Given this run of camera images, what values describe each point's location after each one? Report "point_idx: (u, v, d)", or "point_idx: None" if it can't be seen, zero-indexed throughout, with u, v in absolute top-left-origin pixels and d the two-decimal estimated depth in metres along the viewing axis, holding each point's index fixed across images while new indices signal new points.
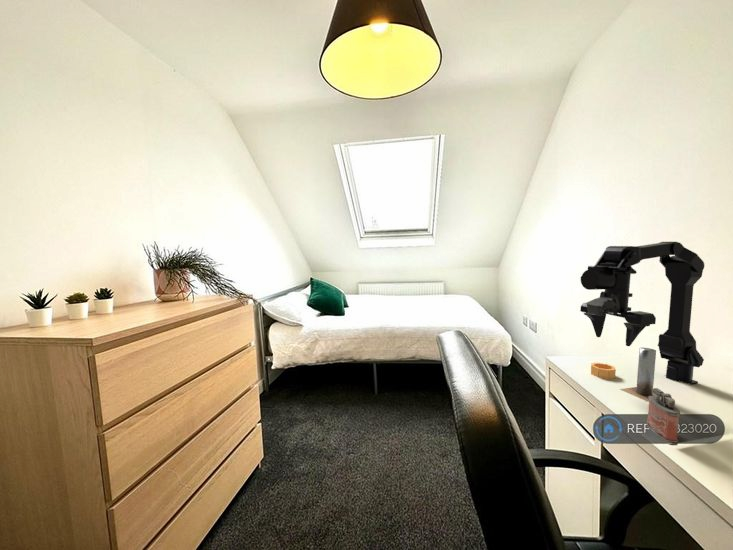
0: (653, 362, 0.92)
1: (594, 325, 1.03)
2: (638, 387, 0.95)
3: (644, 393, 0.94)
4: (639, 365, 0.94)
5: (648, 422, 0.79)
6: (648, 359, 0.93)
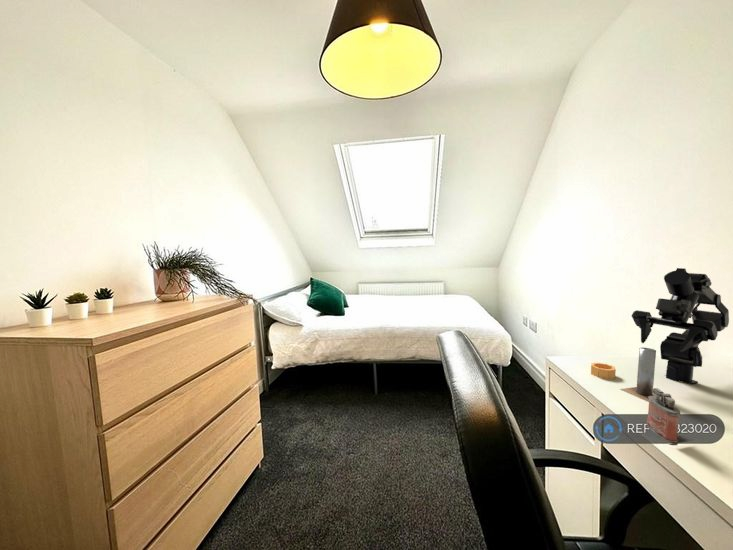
0: (653, 362, 0.92)
1: (643, 330, 1.03)
2: (638, 387, 0.95)
3: (644, 393, 0.94)
4: (639, 365, 0.95)
5: (648, 422, 0.79)
6: (648, 359, 0.93)
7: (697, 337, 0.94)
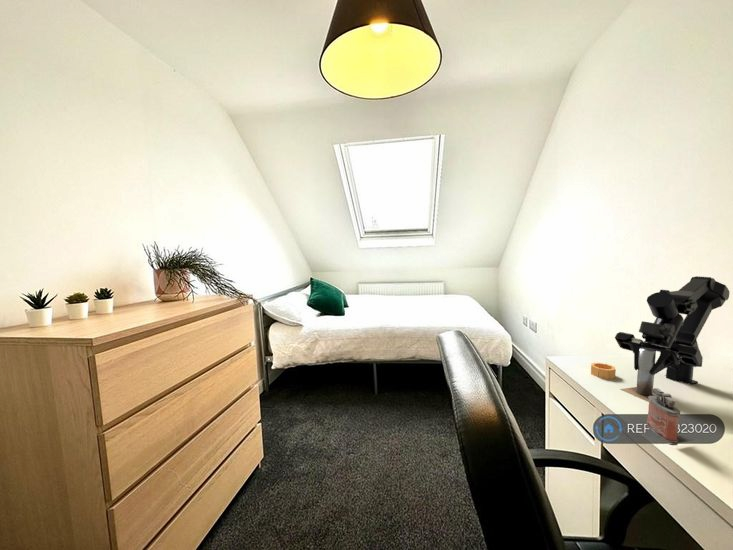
0: (653, 362, 0.92)
1: (636, 356, 0.97)
2: (638, 387, 0.95)
3: (644, 393, 0.94)
4: (639, 365, 0.94)
5: (648, 422, 0.79)
6: (648, 359, 0.93)
7: (669, 360, 0.93)
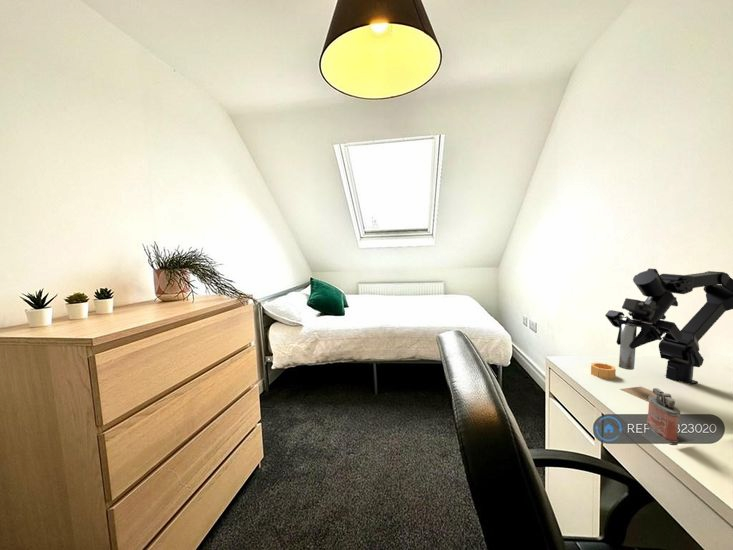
0: (633, 337, 0.97)
1: (620, 332, 1.01)
2: (619, 361, 1.00)
3: (624, 366, 0.98)
4: (620, 339, 0.99)
5: (648, 422, 0.79)
6: (628, 334, 0.97)
7: (651, 335, 0.96)
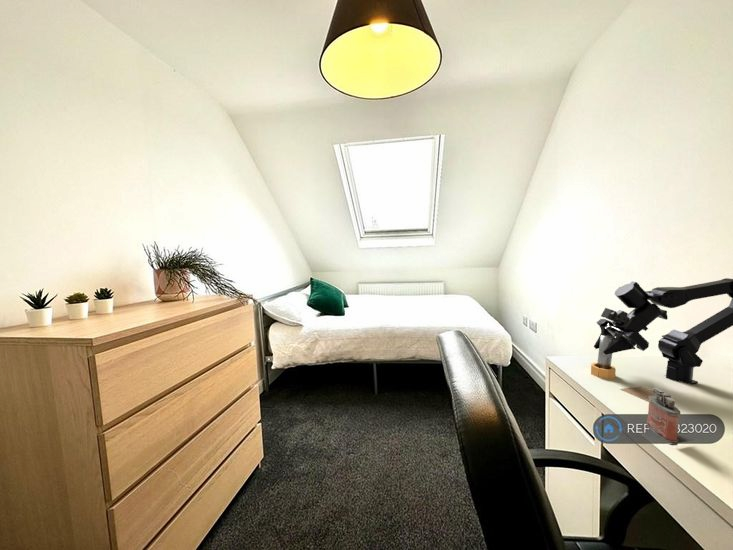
0: None
1: (599, 337, 1.11)
2: None
3: None
4: None
5: (648, 422, 0.79)
6: (603, 343, 1.07)
7: (626, 344, 1.03)
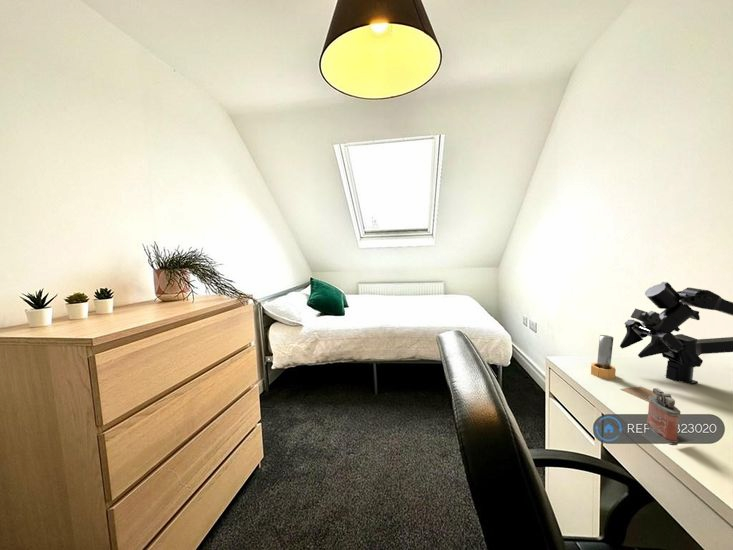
0: (607, 347, 1.06)
1: (625, 337, 1.12)
2: None
3: None
4: None
5: (648, 422, 0.79)
6: (602, 344, 1.07)
7: (662, 347, 1.00)
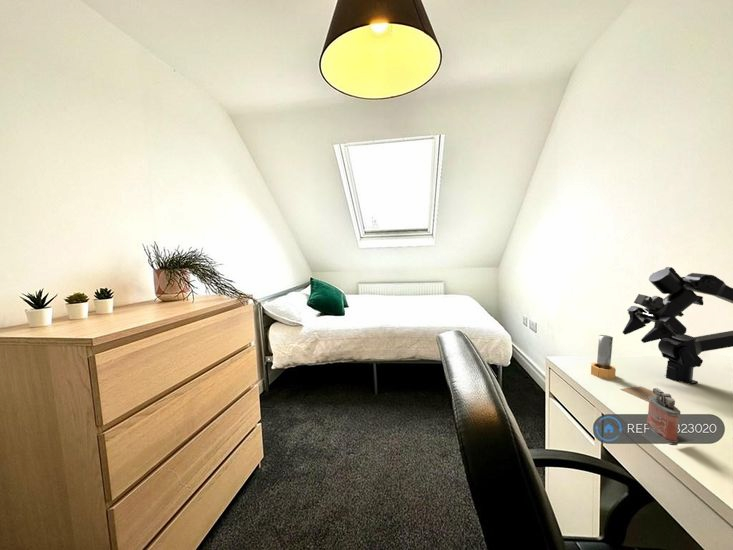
0: (606, 347, 1.06)
1: (628, 323, 1.11)
2: None
3: None
4: None
5: (648, 422, 0.79)
6: (602, 344, 1.07)
7: (665, 332, 0.99)
